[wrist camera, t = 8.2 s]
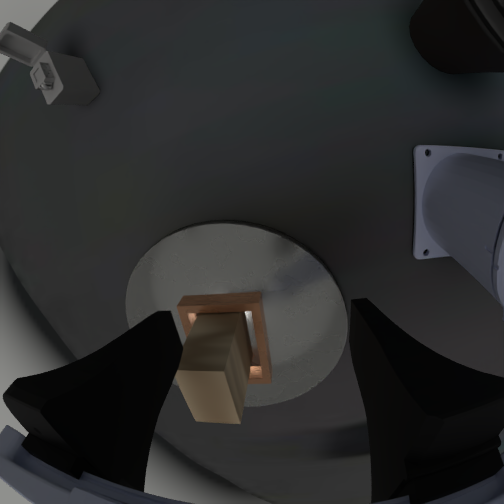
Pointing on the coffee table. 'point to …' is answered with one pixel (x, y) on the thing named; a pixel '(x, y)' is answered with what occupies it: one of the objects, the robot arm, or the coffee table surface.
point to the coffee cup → (460, 35)
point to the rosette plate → (248, 299)
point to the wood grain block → (216, 367)
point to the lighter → (50, 68)
